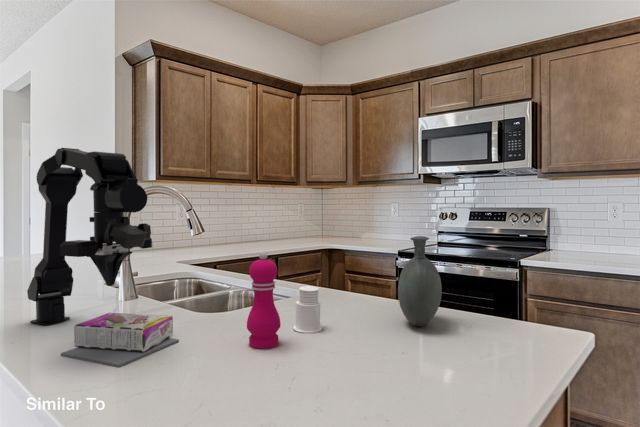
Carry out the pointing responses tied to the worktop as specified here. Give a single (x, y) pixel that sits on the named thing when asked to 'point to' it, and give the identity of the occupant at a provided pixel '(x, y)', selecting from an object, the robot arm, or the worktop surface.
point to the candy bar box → (124, 331)
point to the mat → (114, 354)
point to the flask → (419, 286)
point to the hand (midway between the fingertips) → (110, 285)
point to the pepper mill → (263, 305)
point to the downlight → (308, 311)
